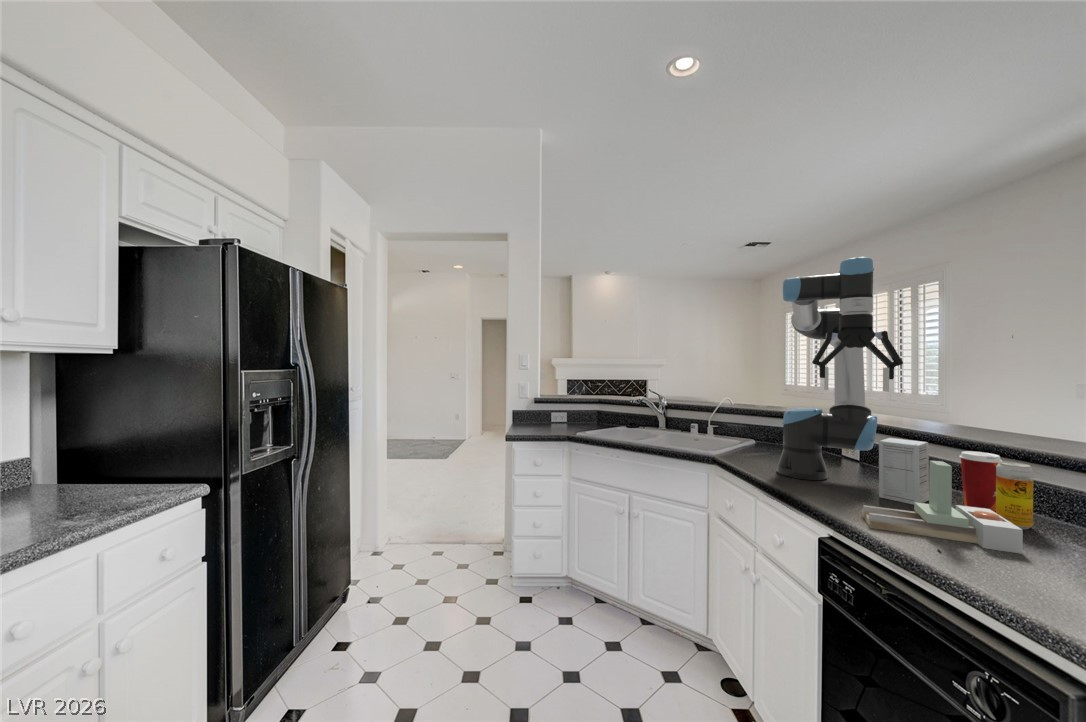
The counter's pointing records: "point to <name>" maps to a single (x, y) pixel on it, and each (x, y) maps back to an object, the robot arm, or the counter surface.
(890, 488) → the supplement box
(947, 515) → the stand
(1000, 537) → the white rectangular block
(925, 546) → the counter surface
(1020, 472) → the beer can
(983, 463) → the coffee cup
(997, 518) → the button
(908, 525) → the rail track
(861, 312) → the robot arm
